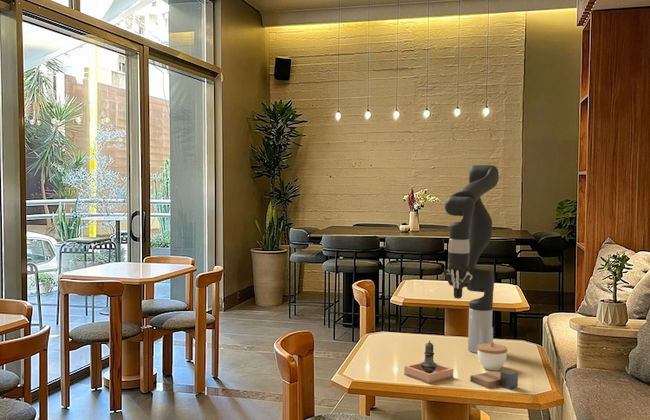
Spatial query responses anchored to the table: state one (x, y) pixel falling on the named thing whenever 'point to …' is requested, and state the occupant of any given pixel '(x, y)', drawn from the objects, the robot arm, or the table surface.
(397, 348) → the table surface
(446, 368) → the tray
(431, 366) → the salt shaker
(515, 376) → the dark gray block
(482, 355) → the lidded jar
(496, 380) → the bronze block
